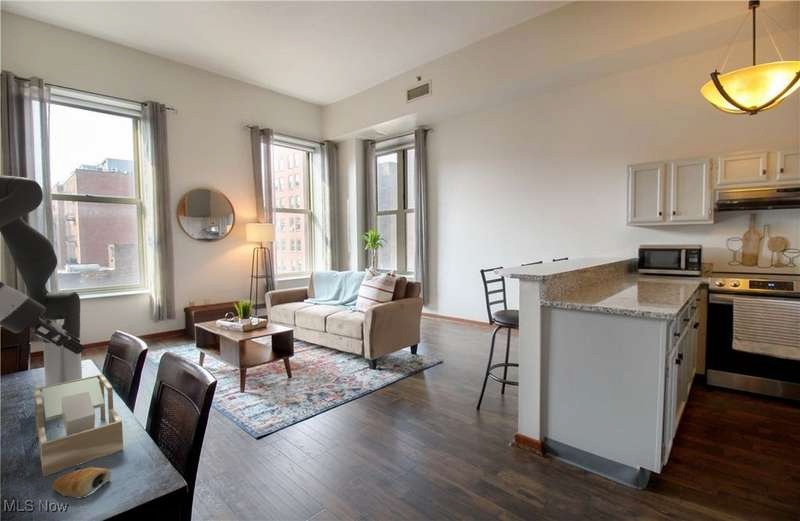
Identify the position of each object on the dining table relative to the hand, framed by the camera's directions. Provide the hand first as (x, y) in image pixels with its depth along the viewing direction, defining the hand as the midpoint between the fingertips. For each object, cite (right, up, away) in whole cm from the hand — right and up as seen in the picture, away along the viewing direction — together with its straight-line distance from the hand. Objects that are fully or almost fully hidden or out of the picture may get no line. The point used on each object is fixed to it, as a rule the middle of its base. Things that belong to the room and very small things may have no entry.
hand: (79, 347), depth 93 cm
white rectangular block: (+1, -13, -3) cm, 13 cm away
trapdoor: (-3, -14, +2) cm, 14 cm away
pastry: (+17, -25, -19) cm, 35 cm away
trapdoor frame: (+1, -23, -2) cm, 23 cm away
